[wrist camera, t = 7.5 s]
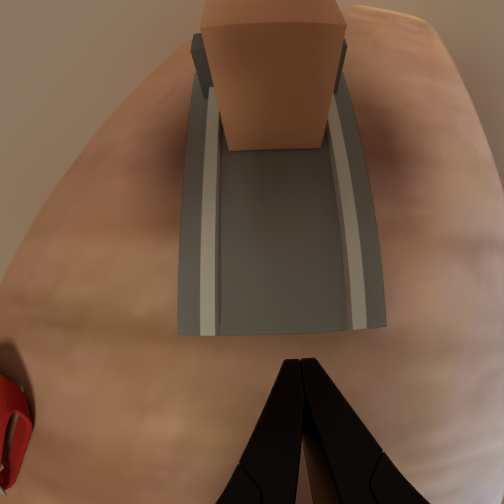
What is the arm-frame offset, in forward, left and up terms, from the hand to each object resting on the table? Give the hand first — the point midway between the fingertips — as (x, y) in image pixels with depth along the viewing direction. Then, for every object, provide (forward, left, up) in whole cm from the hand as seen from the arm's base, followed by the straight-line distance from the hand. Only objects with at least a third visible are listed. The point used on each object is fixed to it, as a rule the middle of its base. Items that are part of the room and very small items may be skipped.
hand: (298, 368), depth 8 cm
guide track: (+9, -7, -11) cm, 15 cm away
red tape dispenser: (+8, +25, -11) cm, 28 cm away
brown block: (+12, -9, -9) cm, 17 cm away
